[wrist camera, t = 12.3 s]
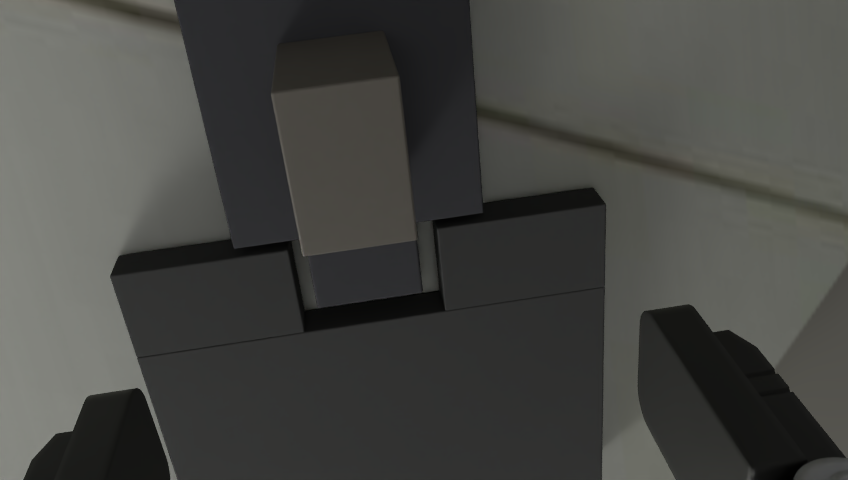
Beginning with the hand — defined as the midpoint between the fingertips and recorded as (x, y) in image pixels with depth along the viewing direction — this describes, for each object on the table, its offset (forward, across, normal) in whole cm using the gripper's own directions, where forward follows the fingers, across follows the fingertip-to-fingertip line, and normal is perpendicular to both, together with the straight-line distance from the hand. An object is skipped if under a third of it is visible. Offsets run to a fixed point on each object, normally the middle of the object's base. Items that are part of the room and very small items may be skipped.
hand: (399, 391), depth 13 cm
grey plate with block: (+17, +1, +2) cm, 17 cm away
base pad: (+17, +1, +12) cm, 21 cm away
